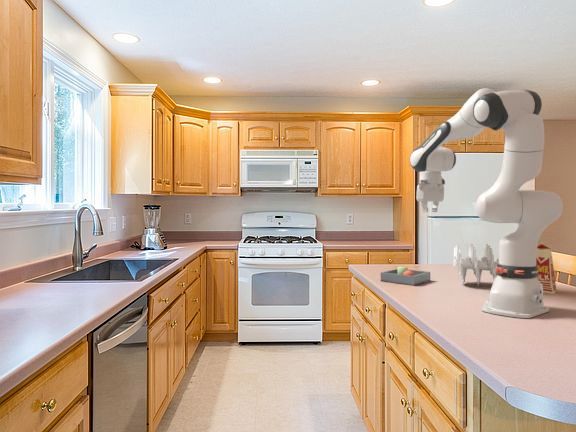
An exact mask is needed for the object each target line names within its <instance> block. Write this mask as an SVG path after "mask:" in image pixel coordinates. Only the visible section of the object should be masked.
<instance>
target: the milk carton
mask: <svg viewBox="0 0 576 432" xmlns="http://www.w3.org/2000/svg"><path fill="white" fill-rule="evenodd" d="M536 266H538V276H537V279H538V281H539V282H540V283H541V284H542V285H543V294H551V295H555V294H556V292H557V284H556V275H555V269H554V268H555V267H554V261H553V254H552V248H550V247H548V246H546V245H544V244H543V240H541V241H540V244H539V245H537V255H536Z"/></svg>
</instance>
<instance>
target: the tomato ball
mask: <svg viewBox="0 0 576 432" xmlns="http://www.w3.org/2000/svg"><path fill="white" fill-rule="evenodd" d="M409 270H410V269H408V271H405V272H404V273H403V275H409V276H414V273H413V272H412V271H409Z"/></svg>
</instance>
